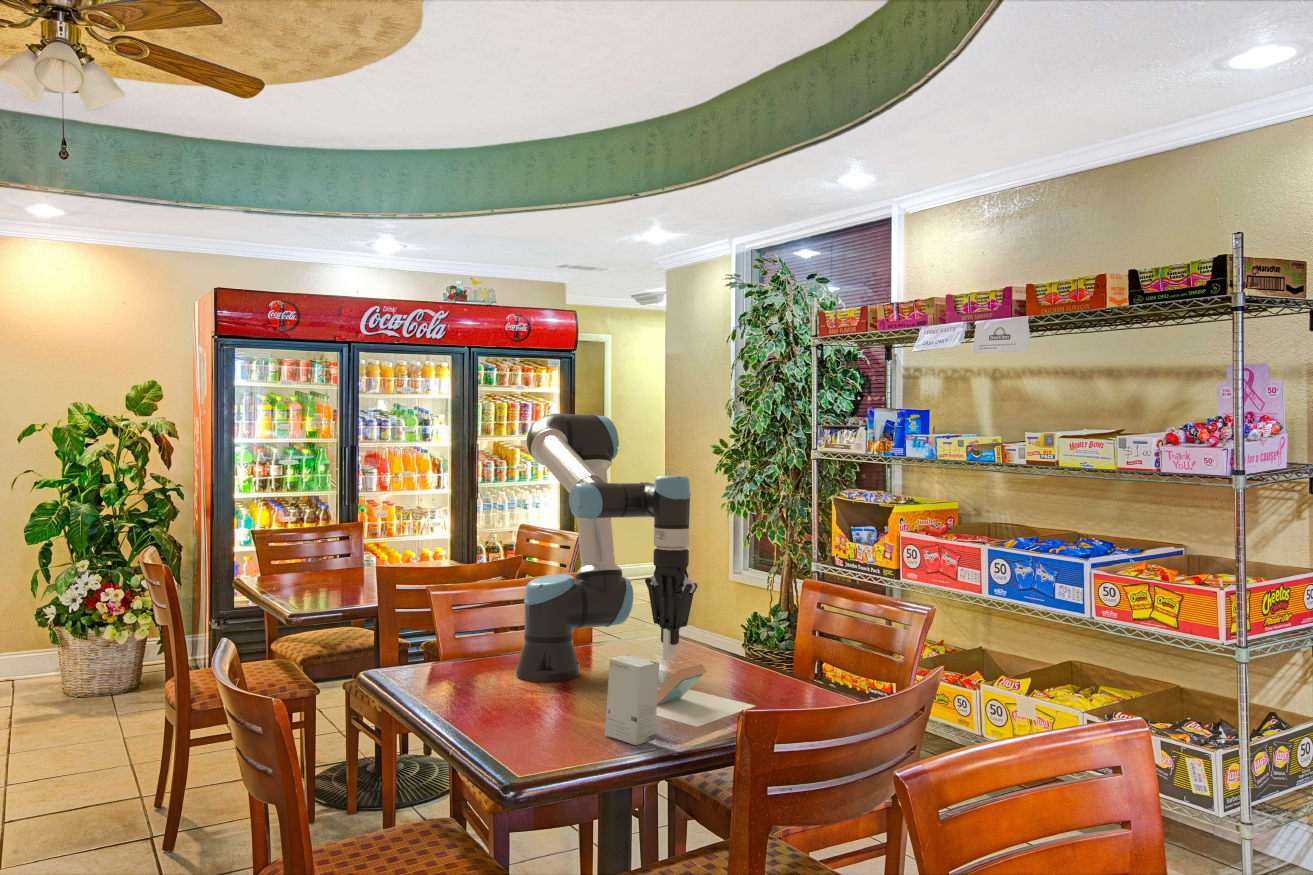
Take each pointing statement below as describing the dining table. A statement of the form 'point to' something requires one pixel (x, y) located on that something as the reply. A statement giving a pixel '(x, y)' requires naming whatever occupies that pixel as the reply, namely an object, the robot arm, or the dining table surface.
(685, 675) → the tile
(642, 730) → the skincare box
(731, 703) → the mat
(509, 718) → the dining table surface
